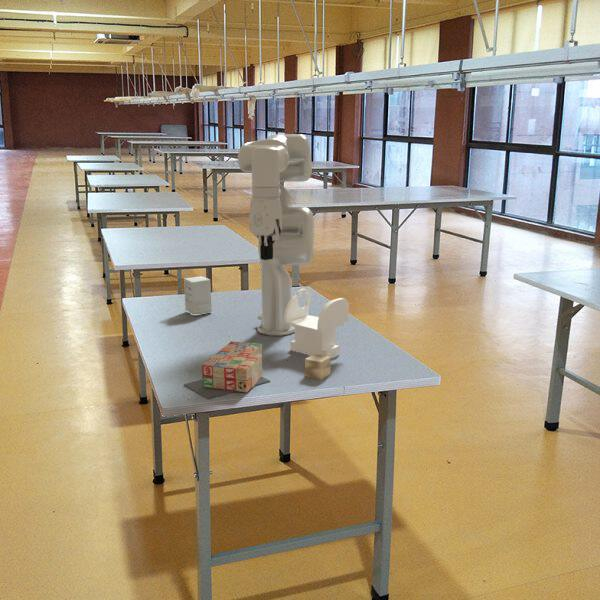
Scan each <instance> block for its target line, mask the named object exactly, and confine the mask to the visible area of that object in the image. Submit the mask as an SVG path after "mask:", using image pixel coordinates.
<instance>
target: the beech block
mask: <svg viewBox="0 0 600 600" xmlns="http://www.w3.org/2000/svg"><path fill="white" fill-rule="evenodd" d="M330 375H331V359H330V357H329V356H323V355H318V354H313V355H311V356H309V355H308V357H306V358H304V377H306V376H308V377H307V378H311V377H313V378H312V379H315V378H317V379H316V380H320V379H322V380H323V379H325V378H326V377H328V376H330Z"/></svg>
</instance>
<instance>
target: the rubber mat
mask: <svg viewBox="0 0 600 600" xmlns="http://www.w3.org/2000/svg"><path fill="white" fill-rule="evenodd" d="M270 382H271V380H270V379H268V378H266V377H263V376H262V377H261V378H260V379H259V380H258V381H257V383H256V384H255V385H254V386H253V387H256V386H259V385H264V384H267V383H270ZM183 386H184V387H186V388H188V389H189V390H191V391H193V392H194V393H196V394H198V395H200V396H202V397H204V398H205V399H207V400H210V399H214V398H217V397H221V396H225V395H228V394H231V393H235V392H236V391H230V390H223V389H215V388H214V389H212V388H204V387H203V380H202V379H198V380H195V381H191V382H187V383H183Z"/></svg>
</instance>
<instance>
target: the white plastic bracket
mask: <svg viewBox="0 0 600 600" xmlns="http://www.w3.org/2000/svg"><path fill="white" fill-rule="evenodd" d="M303 293H305V294H306V302H305V304H304V306H303V307H301V306H300V304H299V298H300V296H301V295H302V294H303ZM311 303H312V294H311V292H310V290H309V289H307V288H300V289H298V291H297V292H296V293H295V295H293V296H291V299H290V301H289V302H288V304H287V306H286V309H285V313H284V323H285V324H289V325H293V326H295V332H294V340H290V341H289V342H290V346H289V347H290V349H289V350H290V351H291V350H293V351H292V352H295V351H297V352H296V353H298V352H301V353H300V354H302V353H304V354H303V355H305V354H308V355H307V356H309V355H313V354H318V355H323V356H329V357H330V360H331V359H334V358H337V357H339V356H340V345H336V328H337V327H341V326H343V325H344V323H347V322H349V321H350V303H349V300H348V299H347V298H344V297H343V298H342V297H339V298H335V299H332V300H330V301H328V302H327V303H326V304H325V305H324V306H323V307H322V309H321V311H320V313H319V316H315V315H309V307H310V305H311ZM338 355H339V356H338Z"/></svg>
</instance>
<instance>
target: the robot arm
mask: <svg viewBox="0 0 600 600" xmlns="http://www.w3.org/2000/svg"><path fill="white" fill-rule="evenodd" d="M237 164H238V166H239V168H240V170H241V171H242V172H244V173H251V196H252V197H251V198H250V199H251V200H250V204H249V212H248V213H249V214H248V215H249V217H248V230H249V232H250V233H251V234H253V236H254V237H255V238H257V239H258V245H257V246H258V247H257V250H258V256H259V257H258V258H259V263H260V273H261V278H260V279H261V314H260V315H258V316H257V320H260V324H259V325H258V326H257V332H258V331H259V332H258V333H260V334H262V333H263V334H262V335H265V334H266V336H274V337H275V336H276V337H277V336H286V335H291V334H293V333H295V326H293V325H289V324H285V323H284V313H285V309H286V306H287V304H288V302H289V301H290V299H291V298H292V278H291V276H290V273H289V272H288V270H287V269H286V268H285V266H286V265H287V266H288V265H289V266H290V265H291V266H306V265H308V264H310V263H311V262H312V260H313V257H314V235H315V233H314V232H315V219H314V214H313V212H312V210H311V209H310V208H309V207H303V206H292V205H293V197H292V195H291V193H290V192H289V190H288V189H287V188H286V187H285V186H284V185H282V184H281V182H287V183H289V182H290V183H291V182H292V183H293V182H295V183H296V182H297V183H299V182H300V183H301V182H302V183H303V182H307V181H308V180H310V179H311V176H312V173H313V171H312V169H313V167H312V166H313V165H312V151H311V145H310V141H309V139H308V138H307V137H306V136H305V135H304V134H301V133H297V134H294V133H291V134H290V133H279V134H278V133H277V134H271V135H270V136H269V137H267V138H265V139H260V140H259V139H258V140H254V141H250V142H244V144H242V145H241V146H240V148H239V151H238V154H237Z"/></svg>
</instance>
